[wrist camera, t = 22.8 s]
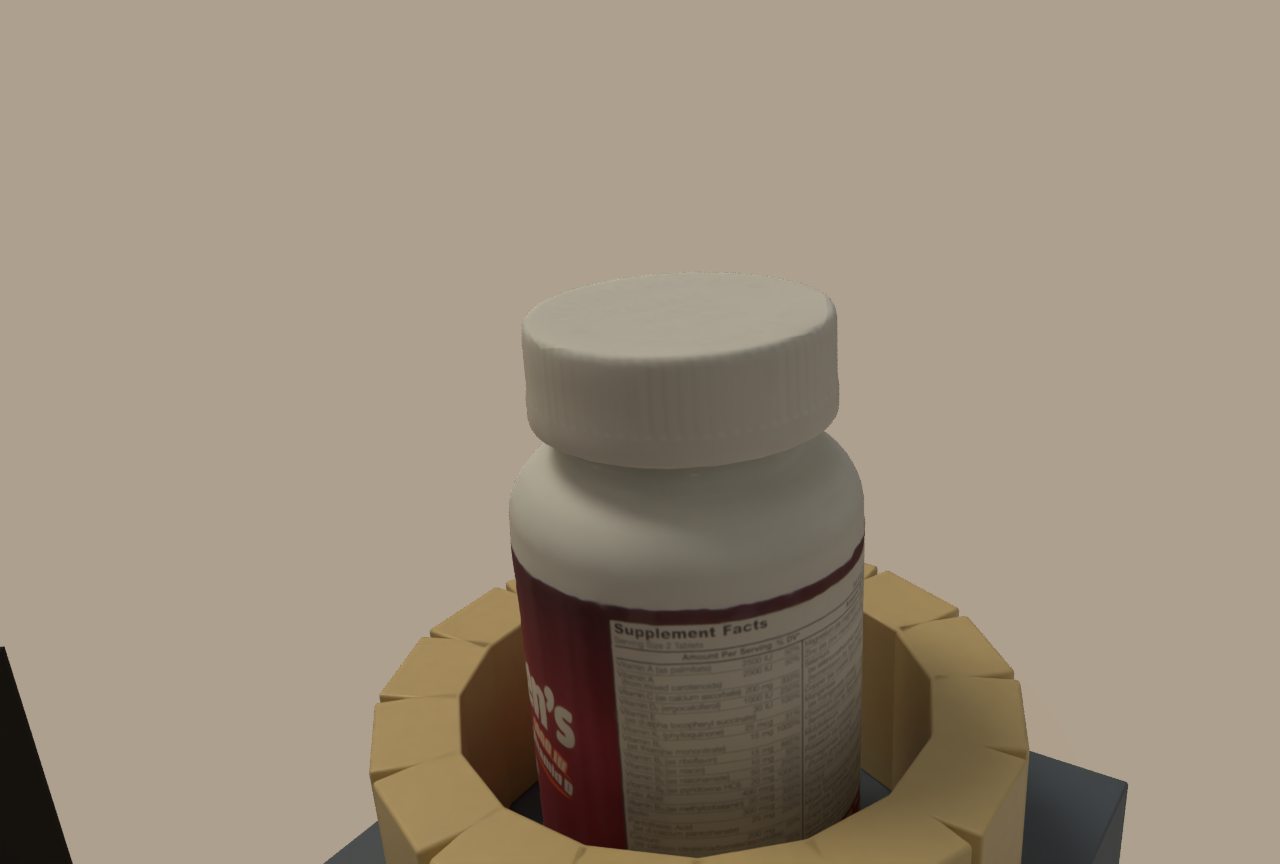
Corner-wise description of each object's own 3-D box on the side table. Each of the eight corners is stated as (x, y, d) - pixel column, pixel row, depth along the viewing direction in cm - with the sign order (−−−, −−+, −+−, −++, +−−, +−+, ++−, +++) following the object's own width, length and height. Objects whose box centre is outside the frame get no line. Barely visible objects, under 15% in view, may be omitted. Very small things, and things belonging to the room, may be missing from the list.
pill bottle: (536, 782, 25) (476, 282, 21) (805, 737, 26) (799, 248, 22) (568, 1013, 19) (494, 390, 15) (910, 946, 20) (930, 339, 16)
